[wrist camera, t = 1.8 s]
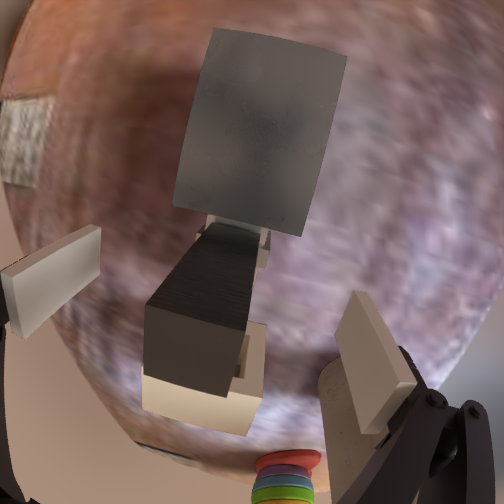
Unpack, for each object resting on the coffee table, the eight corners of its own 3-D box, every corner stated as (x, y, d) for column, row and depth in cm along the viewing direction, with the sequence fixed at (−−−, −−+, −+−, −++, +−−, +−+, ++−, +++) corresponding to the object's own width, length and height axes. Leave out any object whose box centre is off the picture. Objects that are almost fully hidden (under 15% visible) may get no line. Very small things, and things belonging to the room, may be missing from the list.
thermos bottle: (375, 396, 31) (422, 595, 5) (314, 402, 32) (328, 619, 5) (389, 348, 28) (472, 583, 2) (320, 354, 29) (351, 627, 3)
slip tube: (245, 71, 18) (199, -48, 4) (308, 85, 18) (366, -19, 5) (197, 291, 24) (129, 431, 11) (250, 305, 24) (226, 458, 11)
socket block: (178, 302, 28) (141, 366, 19) (266, 325, 28) (262, 398, 19) (173, 344, 30) (142, 409, 21) (253, 364, 30) (245, 436, 21)
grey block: (236, 72, 21) (214, 27, 12) (319, 91, 21) (347, 56, 12) (209, 184, 24) (171, 205, 15) (290, 204, 24) (301, 236, 15)
